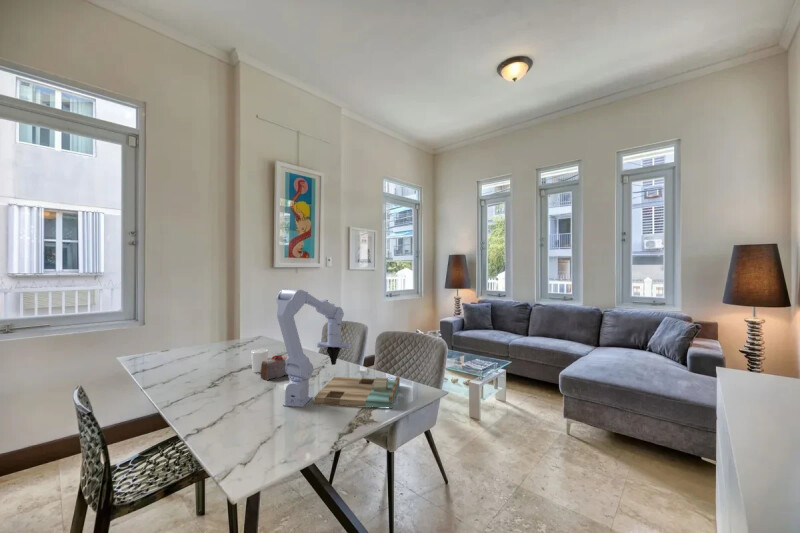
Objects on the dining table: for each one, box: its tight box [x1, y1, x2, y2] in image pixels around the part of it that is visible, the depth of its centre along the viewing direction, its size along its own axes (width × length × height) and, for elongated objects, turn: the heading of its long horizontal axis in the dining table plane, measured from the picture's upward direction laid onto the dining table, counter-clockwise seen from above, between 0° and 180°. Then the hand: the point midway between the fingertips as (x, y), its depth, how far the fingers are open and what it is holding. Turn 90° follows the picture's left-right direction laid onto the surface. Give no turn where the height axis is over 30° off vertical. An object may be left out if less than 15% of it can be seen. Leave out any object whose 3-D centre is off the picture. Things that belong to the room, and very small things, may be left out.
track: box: [313, 375, 401, 409], centre depth 135 cm, size 24×30×4 cm
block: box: [374, 376, 389, 392], centre depth 134 cm, size 5×5×4 cm
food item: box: [260, 355, 288, 381], centre depth 156 cm, size 14×8×10 cm, turn 142°
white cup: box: [250, 348, 269, 374], centre depth 163 cm, size 8×8×10 cm
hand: (333, 364), depth 144 cm, fingers closed
